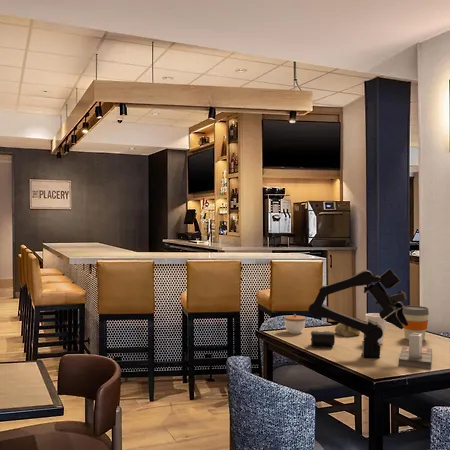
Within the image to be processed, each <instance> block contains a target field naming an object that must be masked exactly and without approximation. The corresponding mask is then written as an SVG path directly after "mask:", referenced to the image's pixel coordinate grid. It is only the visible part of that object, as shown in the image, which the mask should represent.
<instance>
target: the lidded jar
mask: <svg viewBox="0 0 450 450" xmlns="http://www.w3.org/2000/svg"><path fill="white" fill-rule="evenodd" d="M306 319H307V318H306V317H305V316H304V315H297V313H293V315H286V316H285V315H284V326H285V329H286V331H288V333H289V334H293V335H298V334H299V335H300V334H302V332H304V329H305V327H306Z"/></svg>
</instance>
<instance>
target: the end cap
mask: <svg viewBox="0 0 450 450" xmlns="http://www.w3.org/2000/svg"><path fill="white" fill-rule="evenodd" d="M310 336H311V337H310V341H311V343H310V345H311V346H312V347H317V348H318V347H321V348H326V347H329V348H330V347H331V348H332V347H333V346H334V345H335V343H336V342H335V339H336V337H335V331H327V330H326V331H317V330H316V331H315V330H313V331H311V332H310Z"/></svg>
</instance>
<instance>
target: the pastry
mask: <svg viewBox="0 0 450 450" xmlns="http://www.w3.org/2000/svg"><path fill="white" fill-rule="evenodd" d="M334 333H336V334H337V335H338V336H341V337H345V338H352V337H357V336H359V335H360V334H361V331H359V330H357V329H354V328H351V327H349V326H346V325H344V324H341V323H339V322H337V324H336V326H335V328H334Z"/></svg>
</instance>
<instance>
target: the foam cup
mask: <svg viewBox="0 0 450 450" xmlns="http://www.w3.org/2000/svg"><path fill="white" fill-rule="evenodd" d="M379 315H380V312H377V313H376V312H372V313H371V312H370V313H365V322H368V319H370V320H371V321H373V322H378V324H379V325H380V326H381V327H382V331H383V336H382V337H381V338H380V339H378V342H379V345H381V344H382V345H383V344H384V337H385V329H386V323H387V321H386V320H384V319H385V318H387V317H385V318H384V319H382V318H381V317H380V316H379Z"/></svg>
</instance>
